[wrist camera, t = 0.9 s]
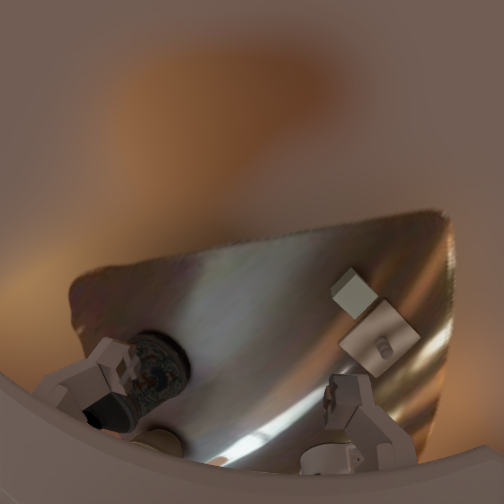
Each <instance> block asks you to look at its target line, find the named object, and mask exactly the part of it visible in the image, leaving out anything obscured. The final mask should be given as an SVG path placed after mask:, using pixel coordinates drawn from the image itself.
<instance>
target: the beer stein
mask: <svg viewBox="0 0 504 504" xmlns="http://www.w3.org/2000/svg"><path fill="white" fill-rule="evenodd" d="M128 344H131V345H134V346H136V349H137V353H136V355H137V356H138V357H139V359H140V362H141V369H140V373H139V375H138V377H137V378H136V379H134V380H132V384H133V386H132V388H131V390H130V391H129V393H128V395H127V396H126V395H122V394H119V393H116V392H113V391H111V392H110V393H108V394H107V395H105V396H104V397H102V398H101V399H99V400H98V401H96V402H95V403H93V404H92V405H90V406H89V407H87V408H86V409H84V410H82V412H83V413H84V415H85V416H86V418H87V423H88V424H89V425H91V426H92V427H94V428H96V429H99V430H100V429H107V430H110V431H114V432H118V433H130V432H132V431H133V430H134V429H135V427H136V425H137V423H138V420H139V419H140V418H142V417H143V416H145V415H146V414H147V413H149V412H150V411H151V410H153V409H154V408H156V407H157V406H158V405H160V404H161V403H163V402H165V401H166V400H168V399H170V398H173V397H175V396H177V395H179V394H180V393H181V392H182V391H183V390H184V388H185V386H186V383H187V381H188V379H189V376H190V364H189V362H188V359H187V356H186V354H185V351H184V350H183V349H182V348H181V347H180V346H179V345H177V344H176V343H175V342H174V341H173V340H172V339H171V338H170V337H167V336H165V335H162V334H160V333H158V332H146V333H143V334H139V335H136V336H134V337H132V338H131V339H130V340H129V341H128Z"/></svg>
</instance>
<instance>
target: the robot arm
mask: <svg viewBox="0 0 504 504" xmlns="http://www.w3.org/2000/svg"><path fill="white" fill-rule="evenodd" d="M136 353H137V349H136V346H134V345H131V344H128V343H125V342H121V341H118V340H115V339H111V338H108V337H105V338H103V339H102V340H101V341H100V343H99V344H98V345H97V346H96V348H95V349H94V350H93V352H92V353H91V354H90V356H89V357H88V358H87V360H86V359H83V360H80V361H78V362H76V363H73V364H71V365H69V366H67V367H64V368H62V369H60V370H58V371H55V372H53V373H51V374H48V375H46V376H45V377H44V378H43V380H42V381H41V382H40V383H39V384H38V386H37V387H36V388H35V390H34V391H33V392H32V393H30V392H28V391H27V390H25V389H24V388H22V387H21V386H19V385H18V384H17V383H15V382H14V381H12V380H11V379H9V378H8V377H7V376H5V375H4V374H3V373H1V372H0V504H504V455H502V454H501V453H500V452H498V451H497V450H495V449H494V448H492V447H490V446H488V445H482V446H479V447H476V448H473V449H470V450H468V451H465V452H461V453H458V454H455V455H452V456H448V457H445V458H441V459H437V460H434V461H429V462H426V463H421V464H418V462H417V457H416V452H415V447H414V443H413V439H412V438H411V437H410V436H409V435H408V434H407V433H406V432H405V431H404V430H403V429H402V428H401V427H400V426H399V425H398V424H397V423H396V422H395V421H394V420H393V419H392V418H391V417H390V416H389V415H388V414H387V413H386V412H385V411H384V410H383V409H382V408H381V407H380V406H379V405H375V403H374V398H373V393H372V388H371V384H370V379H369V376H368V375H367V374H356V375H355V374H332V375H331V376H330V378H329V385H328V386H326V389H325V392H324V397H323V408H324V409H325V410H326V412H325V414H324V429H339V430H344V431H345V433H346V434H347V435H348V437H349V438H350V440H351V441H352V443H347V444H323V445H319V446H316V447H313V448H311V449H309V450H308V451H306V452H305V453H304V454H303V455H302V457H301V459H300V464H301V469H300V475H292V474H275V473H263V472H254V471H246V470H238V469H232V468H226V467H220V466H214V465H209V464H204V463H200V462H195V461H191V460H187V459H183V458H179V457H175V456H171V455H168V454H164V453H161V452H158V451H155V450H151V449H148V448H145V447H142V446H139V445H136V444H134V443H131V442H128V441H125V440H123V439H120V438H118V437H115V436H113V435H110V434H108V433H106V432H103V431H101V430H99V429H96V428H94V427H92V426H90V425H88V424H86V423H87V418H86V416H85V415H84V413H83V412H82V410H84V409H86V408H87V407H89V406H90V405H92V404H93V403H95V402H96V401H98V400H99V399H101V398H102V397H104V396H105V395H107V394H108V393H110V392H111V391H113V392H116V393H119V394H122V395H126V396H127V395H128V393H129V391H130V390H131V388H132V386H133V384H132V380H134V379H136V378H137V377H138V375H139V373H140V369H141V362H140V359H139V357H138V356H137V355H136Z"/></svg>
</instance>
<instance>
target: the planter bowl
mask: <svg viewBox="0 0 504 504" xmlns="http://www.w3.org/2000/svg"><path fill="white" fill-rule="evenodd" d="M130 442H131V443H134V444H136V445H139V446H142V447H145V448H148V449H151V450H155V451H158V452H161V453H164V454H168V455H171V456H175V457H179V458H183V454H182V450H181V448H182V445H181V442H180V441H179V439H178V438H177V437H176V436H175V435H174V434H172V433H170V432H168V431H166V430H163V429H155V430H153V431H148V432H144V433H141V434H139V435H137V436H136V437H134V438H133V439H132V440H131V441H130Z"/></svg>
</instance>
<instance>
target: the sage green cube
mask: <svg viewBox="0 0 504 504" xmlns="http://www.w3.org/2000/svg"><path fill="white" fill-rule="evenodd" d="M330 290H331V295H332V299H333V300H334V301H335V302H337V303H338V304H339V305H340V306H341V307H342V308H343V309H344V310H345V311H346V312H347V313H348V314H349V315H350V316H351V317H352V318H353V319H354V320H355V319H356V318H357V317H358V316H359V315H360V314H361V313H362V312H363V311H364V310H365V309H366V308H367V307H368V306H369V305H370V304H371V303H372V302H373V301H374V300H375V299H376V298H377V297H378V296H377V294H376V293H375V292H374V290H373V289H372V288H371V287H370V286H369V285H368V284H367V283H366V282H365V281H364V280H363V279H362V278H361V277H360V276H359V275H358V274H357V273H356V272H355V271H354V270H353V269H352V268H350V269H349V270H348V271H347V272H346V273H345V274H344V275H343V276H342V277H341V278H340V279H339V280H338V281H337V282H336V283H335V284H334V285H333V286H332V287H331V288H330Z"/></svg>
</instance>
